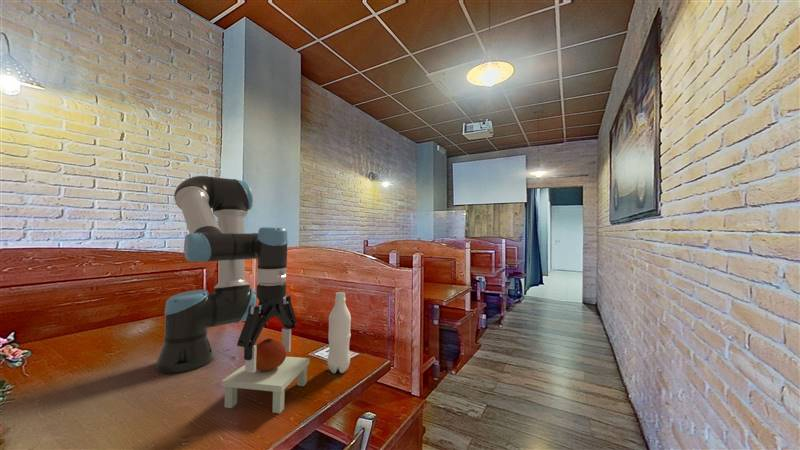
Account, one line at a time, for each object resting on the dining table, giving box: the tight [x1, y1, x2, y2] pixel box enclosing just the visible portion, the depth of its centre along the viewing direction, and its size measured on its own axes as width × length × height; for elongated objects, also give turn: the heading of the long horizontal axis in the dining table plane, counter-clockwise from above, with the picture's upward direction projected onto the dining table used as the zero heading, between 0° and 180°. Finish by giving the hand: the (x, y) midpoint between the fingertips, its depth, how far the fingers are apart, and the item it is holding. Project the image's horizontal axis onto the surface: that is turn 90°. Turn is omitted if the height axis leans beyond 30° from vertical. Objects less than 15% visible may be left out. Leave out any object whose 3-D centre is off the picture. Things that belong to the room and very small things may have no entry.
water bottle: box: [327, 291, 352, 374], centre depth 97 cm, size 7×7×25 cm
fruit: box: [256, 338, 287, 371], centre depth 82 cm, size 9×9×8 cm
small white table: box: [221, 356, 311, 414], centre depth 82 cm, size 16×16×7 cm
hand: (269, 360), depth 83 cm, fingers open, 13 cm apart
